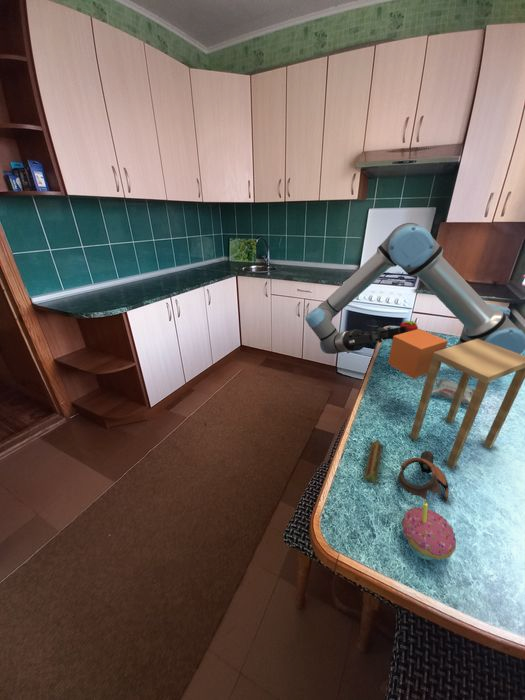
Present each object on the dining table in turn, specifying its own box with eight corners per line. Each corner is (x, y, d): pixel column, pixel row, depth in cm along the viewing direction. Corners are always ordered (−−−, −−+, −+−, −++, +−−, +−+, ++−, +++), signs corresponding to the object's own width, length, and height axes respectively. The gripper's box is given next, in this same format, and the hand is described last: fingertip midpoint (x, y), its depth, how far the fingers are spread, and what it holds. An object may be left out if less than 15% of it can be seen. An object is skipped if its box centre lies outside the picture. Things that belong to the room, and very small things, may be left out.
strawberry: (399, 334, 138) (404, 314, 133) (416, 338, 133) (421, 318, 129) (395, 338, 134) (399, 318, 129) (412, 342, 129) (418, 321, 125)
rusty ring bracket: (453, 516, 59) (442, 494, 56) (404, 509, 65) (391, 489, 62) (451, 464, 67) (441, 442, 64) (407, 461, 73) (396, 441, 70)
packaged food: (471, 412, 87) (476, 398, 85) (428, 397, 94) (432, 384, 92) (475, 399, 93) (480, 386, 91) (434, 385, 100) (438, 373, 98)
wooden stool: (448, 419, 85) (477, 338, 73) (492, 446, 75) (533, 359, 63) (409, 436, 79) (433, 352, 67) (451, 469, 69) (488, 377, 57)
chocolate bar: (381, 447, 76) (383, 440, 74) (375, 483, 66) (377, 476, 65) (371, 444, 77) (372, 437, 76) (364, 479, 67) (365, 472, 66)
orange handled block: (387, 342, 96) (391, 317, 92) (439, 369, 81) (448, 340, 77) (363, 349, 93) (367, 323, 88) (413, 378, 77) (421, 349, 73)
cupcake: (398, 560, 52) (412, 518, 46) (396, 517, 59) (409, 476, 53) (452, 579, 49) (475, 538, 44) (444, 531, 56) (463, 490, 51)
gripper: (369, 346, 108) (424, 339, 86) (336, 355, 102) (386, 349, 80) (364, 327, 108) (418, 314, 86) (331, 334, 102) (380, 323, 80)
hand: (403, 331), depth 83 cm, fingers closed on orange handled block, 2 cm apart
